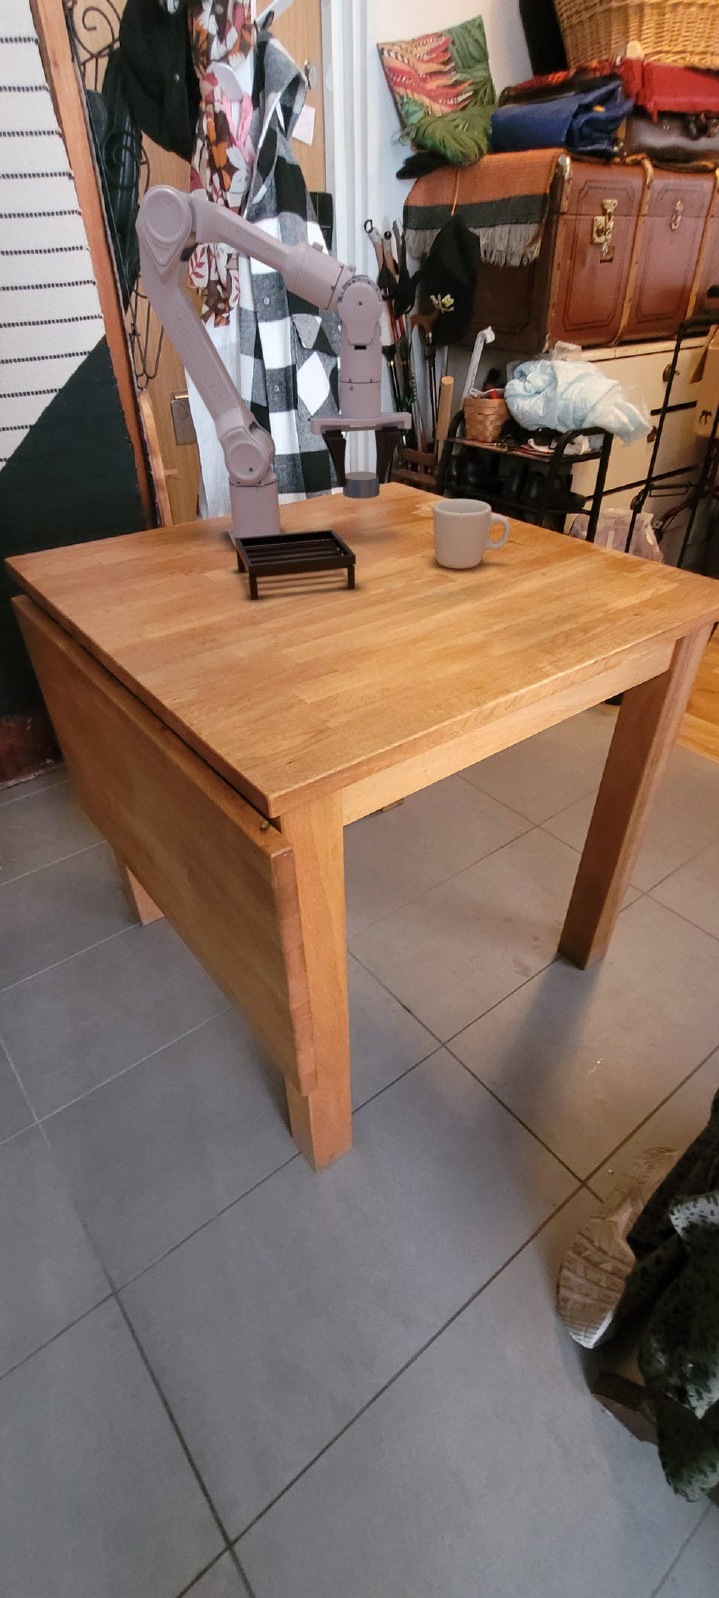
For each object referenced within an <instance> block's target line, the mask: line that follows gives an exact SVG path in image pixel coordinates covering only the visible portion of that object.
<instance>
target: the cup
mask: <svg viewBox="0 0 719 1598" xmlns="http://www.w3.org/2000/svg"><path fill="white" fill-rule="evenodd" d="M432 521H433V522H432V523H433V541H434V555H435V559H436V561H437V563H438V564H440V565H441V566H443V567H445V568H447V569H449V568H450V569H456V570H463V569H471V568H474V567H477V566H478V565H479V564H480V563H481V561H482V559H483V556H484V553H485V552H486V551H496V550H501V549H502V548H504V546H506V544H507V543H508V540H509V538H510V534H511V525H510V522H509V519H508V518H506V517H505V516H504V515H502V514H499V513H495V512H492V507H491V505H490V504H489V503H487V502H486V501H481V500H477V499H469V498H451V499H450V498H449V499H445V500H440V501H438V502H436V503H434V504H433V506H432ZM497 523H499V524H501V525H502V526H503V534H502V537H501V539H500V540H498V541H497V542H496V541H495V542H493V541H492V540H491V538H490V531H491V528H492V527H493V525H494V524H497Z"/></svg>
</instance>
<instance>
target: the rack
mask: <svg viewBox="0 0 719 1598" xmlns="http://www.w3.org/2000/svg"><path fill="white" fill-rule="evenodd" d="M284 543H287V544H284ZM273 544H276V545H273ZM262 545H266V546H262ZM251 546H255V547H251ZM235 547H236V548H235ZM234 548H235V550H236V561H237V571H238V573H245V572H247V573H248V586H249V596H250V599H251V600H255V601H256V600H258V599H259V589H258V579H257V578H264V577H272V576H273V577H275V576H283V575H293V574H303V573H314V572H322V571H323V572H325V571H333V570H343V569H346V571H347V572H346V574H347V589H348V590H354V589H356V564H357V556H356V554H355V553H354V552H353V550H352V549H351V548H350V547H349V546H348V545H347V544H346V543H345V541H344V540H343V539H342V537H340V535H338V533H337V532H336V531H335V530H334V529H323V530H311V531H300V532H289V533H282V534H276V535H264V536H253V537H242V538H235V546H234Z"/></svg>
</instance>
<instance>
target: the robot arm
mask: <svg viewBox="0 0 719 1598" xmlns="http://www.w3.org/2000/svg"><path fill="white" fill-rule="evenodd" d="M134 226H135V231H136V235H137V239H138V249H139V251H138V252H139V265H140V281H141V287H142V290H143V292H144V294H145V296H146V298H147V300H148V302H149V303H150V305H151V307H152V309H153V312H154V313H155V315H156V317H157V319H158V320H159V322H160V324H161V327H162V328H163V329H164V331H165V333H166V335H167V337H168V339H169V340H170V343H171V344H172V347H173V348H174V350H175V351H176V354H177V355H178V358H179V359H180V362H181V363H182V366H183V367H184V369H185V371H186V372H187V374H188V376H189V378H190V380H191V381H192V383H193V385H194V387H195V389H196V391H197V392H198V394H199V396H200V398H201V400H202V402H203V404H204V406H205V407H206V409H207V411H208V413H209V416H210V417H211V419H212V421H213V424H214V427H215V431H216V437H217V440H218V442H219V444H220V446H221V448H222V451H223V458H224V466H225V468H226V470H227V472H228V474H229V475H228V476H227V479H228V480H227V481H228V489H229V498H230V500H229V501H230V508H231V509H230V510H231V519H232V528H229V529H227V534H228V535H229V538H230V540H231V542H232V544H233V546H234V548H235V549H236V547H235V538H242V537H253V536H264V535H276V534H283V532H282V531H281V517H280V505H279V504H280V503H279V490H278V489H279V488H278V476H277V474H276V473H275V472H274V470H273V468H272V467H271V465H272V463H273V462H274V460H275V456H276V453H277V452H276V451H277V449H276V443H275V440H274V438H273V437H272V435H271V434H270V433H269V431H268V430H266V429H265V428H263V426H261V425H260V424H259V422H258V420H257V419H256V417H255V414H254V413H253V412H252V411H251V409H249V407H248V406H247V405H246V404H245V402H244V400H243V398H242V397H241V395H240V393H239V391H238V389H237V387H236V385H235V383H234V380H233V379H232V377H231V375H230V373H229V371H228V369H227V367H226V365H225V363H224V361H223V360H222V358H221V356H220V353H219V351H218V350H217V348H216V346H215V344H214V342H213V339H212V338H211V336H210V334H209V332H208V330H207V329H206V326H205V325H204V323H203V320H202V318H201V317H200V315H199V312H198V311H197V309H196V307H195V305H194V303H193V301H192V299H191V297H190V295H189V293H188V292H187V289H186V287H185V282H186V278H187V274H188V270H189V266H190V262H191V258H192V256H193V255H194V253H195V251H196V250H197V249H198V247H199V245H200V244H225V245H227V246H228V247H231V248H232V249H235V250H237V251H238V252H240V253H242V254H244V255H246V256H248V257H250V258H251V259H254V260H256V261H258V262H259V263H261V264H263V265H265V266H266V267H269V268H271V269H273V270H274V271H277V272H278V273H280V274H281V276H282V278H283V282H284V284H285V287H286V290H287V291H288V292H290V293H292V294H294V295H296V296H298V297H300V298H301V299H303V300H305V301H307V302H308V303H310V304H312V305H314V306H316V307H318V308H319V309H321V310H323V311H324V312H327V313H328V314H333V313H338V316H339V318H340V320H341V341H340V343H339V363H340V364H339V369H340V370H339V371H340V373H339V375H340V379H339V380H340V414H331V415H323V416H312V417H309V426H310V429H309V430H310V431H309V432H310V433H311V434H313V435H321V437H322V439H323V441H324V444H325V446H326V449H327V451H328V453H329V456H330V458H331V462H332V464H333V468H334V472H335V476H336V482H337V485H338V486H339V487H340V488H343V487H345V486H346V451H347V450H346V449H347V439H346V438H345V437H344V433H347V432H348V433H349V432H364V431H374V439H375V453H376V460H375V461H376V463H375V473H377V474H379V475H380V485H385V483H386V478H387V473H388V469H389V465H390V463H391V459H392V457H393V455H394V452H395V450H396V448H397V446H398V444H399V442H400V440H401V431H399V429H403V430H412V413H409V412H408V411H407V412H406V411H405V412H403V411H402V412H401V411H400V412H382V377H383V375H382V373H383V372H382V371H383V368H382V367H383V343H382V341H381V336H382V325H381V321H380V319H381V317H382V314H383V311H384V303H383V294H382V292H381V289H380V287H379V286H378V284H377V283H376V282H375V281H374V280H373V279H371V277H369V276H368V275H367V274H356V271H357V269H358V268H357V266H356V265H355V264H352V263H349V264H348V265H346V264H345V263H343V262H341V261H339V260H338V259H336V258H335V257H333V256H331V255H329V254H327V253H325V252H324V251H323V250H324V245H322V244H321V243H319V242H317V241H313V242H312V244H311V243H309V242H307V241H301V242H299V243H297V244H295V245H292V246H289V245H288V244H286V243H284V242H283V241H281V240H280V239H278V238H276V237H275V236H273V235H271V234H270V233H269V232H266V231H265V230H264V229H262V228H260V227H259V226H257V225H255V224H254V223H253V222H251V221H250V220H249V221H248V219H246V218H244V217H243V216H241V215H240V214H238V213H236V212H234V211H233V210H231V209H230V208H228V207H226V206H224V205H222V204H219V203H217V202H213V201H210V200H207V199H205V198H202V197H199V196H195V195H193V194H192V193H190V192H188V191H186V190H183V189H176V187H173V186H172V185H168V184H156V185H154V186H152V187H150V188H149V189H148V190H147V191H146V192H145V194H144V195H143V197H142V199H141V202H140V207H139V209H138V213H137V218H136V221H135V224H134ZM284 544H287V543H284ZM273 545H276V544H273ZM262 546H266V545H262ZM251 547H255V546H251Z"/></svg>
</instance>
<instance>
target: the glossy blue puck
mask: <svg viewBox="0 0 719 1598" xmlns="http://www.w3.org/2000/svg"><path fill="white" fill-rule="evenodd" d="M345 474H346V486H345V487H342V495H343V496H344V497H346V498H350V499H357V500H358V499H360V500H361V499H363V500H365V499H372V498H373V499H374V498H375V497H378V496H380V494H381V493H380V491H381V489H380V486H381V484H380V475H379V474H377V473H376V472H374V471H373V472H372V471H361V470H360V471H350V472H345Z"/></svg>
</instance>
